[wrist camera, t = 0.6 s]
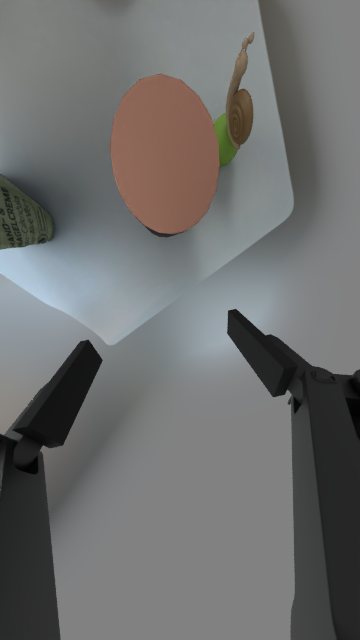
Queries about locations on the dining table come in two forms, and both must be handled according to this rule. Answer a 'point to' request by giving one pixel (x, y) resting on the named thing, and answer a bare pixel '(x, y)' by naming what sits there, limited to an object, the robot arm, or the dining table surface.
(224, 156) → the snail figurine
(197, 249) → the dining table surface
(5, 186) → the pouch
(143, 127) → the coffee jar
